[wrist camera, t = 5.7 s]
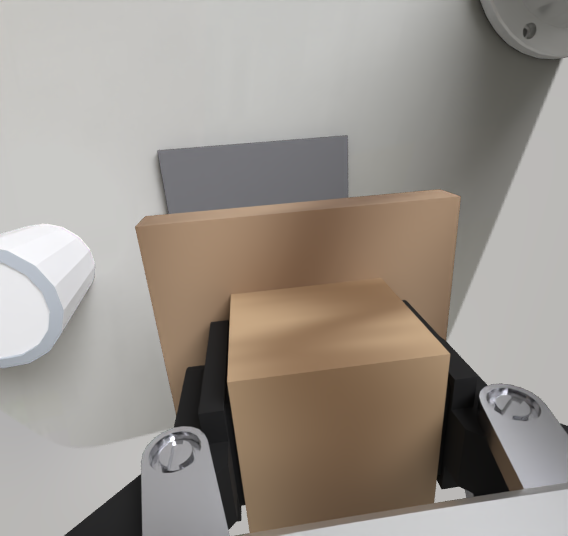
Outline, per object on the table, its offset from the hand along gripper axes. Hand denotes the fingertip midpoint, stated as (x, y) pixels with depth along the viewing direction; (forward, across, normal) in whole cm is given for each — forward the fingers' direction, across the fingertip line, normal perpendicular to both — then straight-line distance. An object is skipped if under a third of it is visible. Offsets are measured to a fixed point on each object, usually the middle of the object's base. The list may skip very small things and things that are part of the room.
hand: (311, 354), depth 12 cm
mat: (+16, +1, 0) cm, 16 cm away
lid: (+1, 0, 0) cm, 1 cm away
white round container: (+16, +15, +1) cm, 22 cm away
